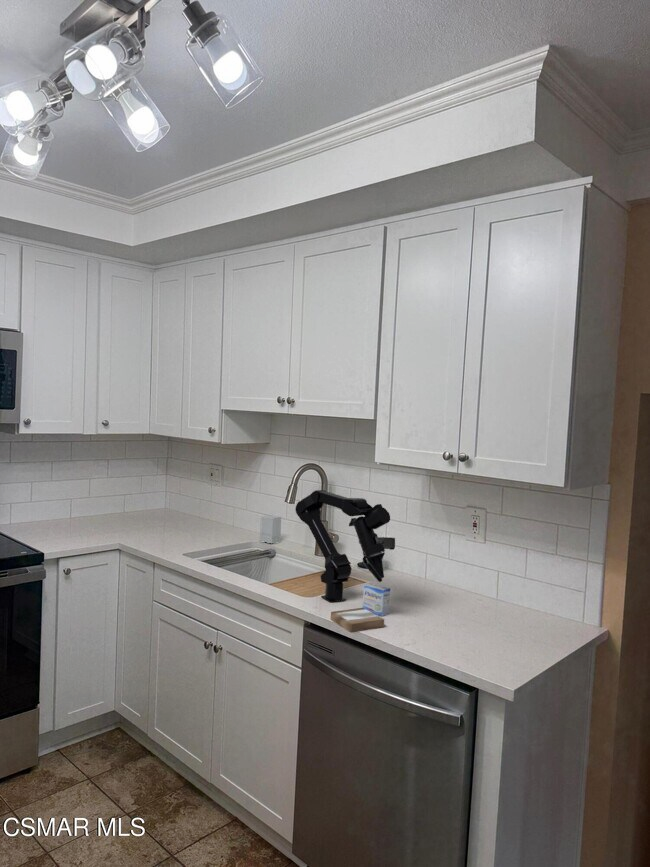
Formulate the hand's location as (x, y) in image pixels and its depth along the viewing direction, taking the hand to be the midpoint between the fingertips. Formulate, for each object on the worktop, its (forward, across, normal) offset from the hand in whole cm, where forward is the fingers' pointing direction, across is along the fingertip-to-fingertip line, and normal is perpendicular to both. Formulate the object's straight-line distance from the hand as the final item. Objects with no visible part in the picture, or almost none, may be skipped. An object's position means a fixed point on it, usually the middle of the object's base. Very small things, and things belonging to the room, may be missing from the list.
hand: (381, 579), depth 205 cm
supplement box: (-43, +96, +35) cm, 111 cm away
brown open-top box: (+11, -3, +12) cm, 16 cm away
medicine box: (+9, +8, +5) cm, 13 cm away
